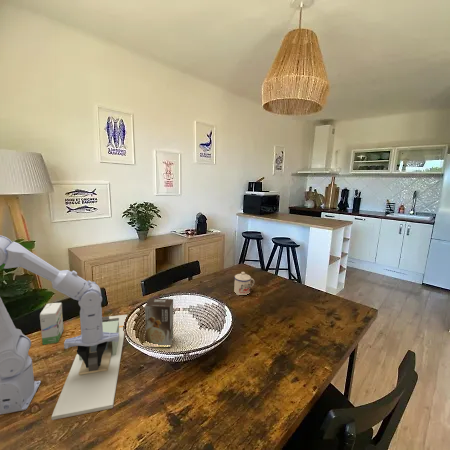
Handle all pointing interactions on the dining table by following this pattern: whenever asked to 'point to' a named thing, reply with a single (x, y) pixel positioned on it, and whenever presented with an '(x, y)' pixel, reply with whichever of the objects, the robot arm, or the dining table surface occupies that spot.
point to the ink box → (51, 323)
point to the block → (93, 348)
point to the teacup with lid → (242, 284)
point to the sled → (94, 358)
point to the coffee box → (159, 321)
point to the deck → (90, 384)
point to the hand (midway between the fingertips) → (94, 364)
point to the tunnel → (111, 328)
